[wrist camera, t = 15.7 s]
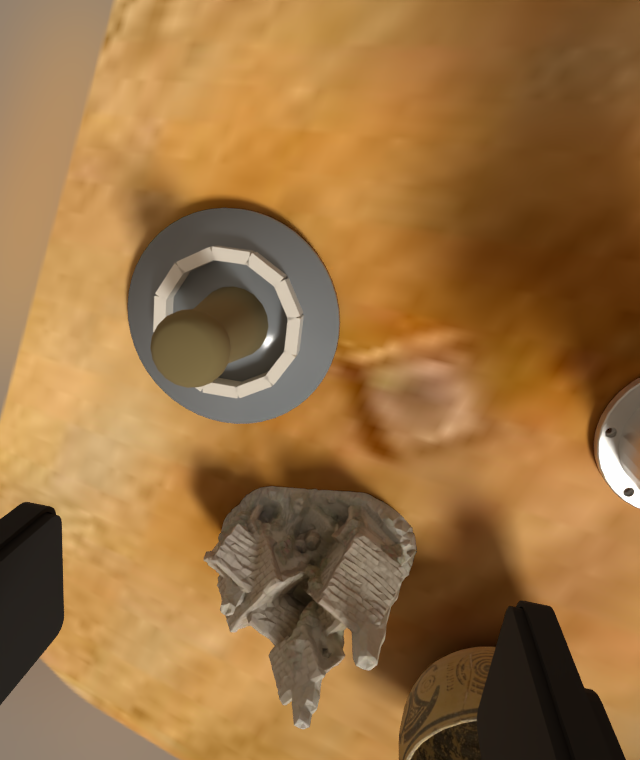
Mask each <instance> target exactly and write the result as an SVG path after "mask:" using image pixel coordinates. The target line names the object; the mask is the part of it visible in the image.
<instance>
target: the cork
mask: <svg viewBox="0 0 640 760" xmlns="http://www.w3.org/2000/svg"><path fill="white" fill-rule="evenodd" d="M267 331H268V318H267V314H266V311H265V309H264V307H263V305H262V303H261V302H260V301H259V300H258V299H257V298H256V296H255V295H253V294H251V293H250V292H248V291H247V290H245V289H242V288H238V287H234V286H232V287H222V288H219V289H217V290H215V291H213V292H211V293H210V294H209V295H208V296H207V297H206V298H205V299H204V300H203V301H202V302H200V303H199V304H198V305H197V306H196V307H195V308H194V309H188V310H180V311H177V312H175V313H173V314H170V315H168V316H166V317H165V318H164V319H163V320H162V321H161V322H160V323H159V324H158V326H157V327H156V329H155V331H154V333H153V335H152V339H151V347H150V349H151V354H152V359H153V361H154V363H155V365H156V367H157V369H158V371H159V372H160V373H161V374H162V375H163V376H164V377H165V378H166V379H167V380H169V381H170V382H172V383H174V384H175V385H178V386H182V387H186V388H192V387H202V386H204V385H207V384H210V383H212V382H213V381H214V380H215V379H217V378H218V377H219V376H220V375H221V374H222V373H223V372H224V370H225V368H226V367H227V365H228V363H231V362H233V361H236V360H238V359H241V358H244V357H246V356H249V355H251V354H253V353H254V352H256V351H257V350H258V349H259V348H260V347H261V346H262V344H263V342H264V341H265V339H266V336H267Z"/></svg>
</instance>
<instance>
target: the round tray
mask: <svg viewBox="0 0 640 760" xmlns="http://www.w3.org/2000/svg"><path fill="white" fill-rule="evenodd" d="M232 286H234V287H238V288H242V289H245V290H247V291H248V292H250V293H251V294H253V295H255V296H256V298H257V299H258V300H259V301H260V302H261V303H262V305H263V307H264V309H265V311H266V314H267V318H268V331H267V336H266V339H265V341H264V342H263V344H262V346H261V347H260V348H259V349H258V350H257V351H256V352H254V353H253V354H251V355H249V356H246V357H244V358H241V359H238V360H236V361H233V362H231V363H228V365H227V367H226V368H225V370H224V372H223V373H222V374H221V375H220V376H219V377H218V378H217V379H215V380H214V381H213V382H212V383H210V384H207V385H204V386H202V387H192V388H186V387H182V386H178V385H175V384H174V383H172V382H170V381H169V380H167V379H166V378H165V377H164V376H163V375H162V374H161V373H160V372H159V371H158V369H157V367H156V365H155V363H154V361H153V359H152V354H151V349H150V347H151V339H152V335H153V333H154V331H155V329H156V327H157V326H158V324H159V323H160V322H161V321H162V320H163V319H164V318H165V317H166V316H168V315H170V314H173V313H175V312H177V311H180V310H188V309H194V308H195V307H196V306H197V305H198V304H199V303H200V302H202V301H203V300H204V299H205V298H206V297H207V296H208V295H209V294H210V293H211V292H213V291H215V290H217V289H219V288H222V287H232ZM128 321H129V326H130V332H131V336H132V339H133V343H134V346H135V349H136V351H137V353H138V356H139V358H140V360H141V362H142V363H143V365H144V367H145V369H146V370H147V372H148V373H149V375H150V376H151V377H152V379H153V380H154V381H155V383H156V384H157V385H158V386H159V387H160V388H161V389H162V390H163V391H164V392H165V393H166V394H167V395H168V396H170V397H171V398H172V399H173V400H174V401H176V402H177V403H179V404H180V405H182V406H183V407H185V408H186V409H188V410H190V411H192V412H194V413H196V414H198V415H201V416H203V417H206V418H209V419H212V420H216V421H221V422H227V423H236V424H240V423H255V422H262V421H266V420H269V419H273V418H276V417H278V416H280V415H283V414H285V413H287V412H289V411H290V410H292V409H294V408H295V407H297V406H298V405H299V404H301V403H302V402H303V401H304V400H306V399H307V398H308V397H309V396H310V395H311V394H312V393H313V392H314V391H315V389H316V388H317V387H318V386H319V384H320V383H321V381H322V380H323V378H324V377H325V375H326V373H327V371H328V369H329V367H330V365H331V363H332V360H333V358H334V355H335V352H336V349H337V344H338V339H339V331H340V311H339V304H338V299H337V294H336V291H335V287H334V284H333V281H332V279H331V277H330V275H329V273H328V270H327V268H326V266H325V265H324V263H323V262H322V260H321V259H320V257H319V256H318V254H317V253H316V252H315V250H314V249H313V248H312V247H311V246H310V245H309V243H308V242H307V241H306V240H305V239H303V238H302V237H301V236H300V235H299V234H298V233H297V232H295V231H294V230H293V229H291V228H290V227H288V226H287V225H285V224H284V223H282V222H280V221H278V220H276V219H274V218H272V217H270V216H267V215H264V214H262V213H259V212H255V211H250V210H245V209H235V208H216V209H208V210H203V211H199V212H195V213H193V214H190V215H188V216H185V217H183V218H181V219H179V220H177V221H176V222H174V223H172V224H170V225H169V226H168V227H167V228H165V229H164V230H163V231H161V232H160V233H159V234H158V235H157V236H156V237H155V238H154V239H153V240H152V242H151V243H150V244H149V245H148V247H147V248H146V250H145V251H144V252H143V254H142V256H141V258H140V260H139V262H138V263H137V265H136V268H135V271H134V274H133V276H132V279H131V284H130V289H129V296H128Z"/></svg>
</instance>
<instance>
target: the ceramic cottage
mask: <svg viewBox="0 0 640 760" xmlns="http://www.w3.org/2000/svg"><path fill="white" fill-rule="evenodd" d="M218 539H219V542H218V544H217V545H216V546H215V547H214V549H213V550H212V551H210V552H206V554H205V556H204V561H206V562H207V563H208V565H209V566H210V567H212V568H213V569H215V570H216V571H217V572H218V573H219V577H218V584H217V586H218V588H219V592H220V594H221V597H222V603H221V608H220V610H221V613H223V614H224V615H225V616H226V618H227V623H228V626H229V629H230V632H237V630H238V629H241V628H245V627H247V626H252V627H253V628H254V629H256V630H257V631H258V632H259V633H260V634H262V635H264V636H265V637H267V638H269V639H270V641H271V642H272V643H273V644H274V645H275V647H274V648H273V649H272V650H271V652H270V654H269V658H270V661H271V665H272V670H273V673H274V677H275V680H276V686H277V688H278V695H279V699H280V701H281V703H282V704H283V705H287V704H288V703H290V702H291V701H292V708H293V719H294V725H295V726H297V727H298V728H300V729H306V728H308V727H310V723H311V717H312V714H313V713H314V712H315V711H316V710H317V706H318V702H319V699H320V688H321V681H322V678H324V677H325V674H326V673H327V672H329V670H330V669H331V668H333V667H334V666H337V665H338V664H339V663H340V662H341V660H343V659H344V657H345V654H344V652H343V646H344V637H343V636H344V630H345V629H346V628H348V629H350V630H351V632H352V649H353V660H354V662H355V665H356V666H358V667H360V668H361V669H364V670H369V671H370V670H371V669H372V668H374V667H375V666H376V665H377V663H378V659H379V654H380V649H381V646H382V644H383V642H384V640H385V635H386V624H387V621H388V618H389V613H390V609H391V606H392V605H393V604H394V602H395V601H396V600H397V598H398V596H399V591H400V587H401V583H402V581H403V580H404V579H405V577H407V576H408V575H409V571H410V569H411V566H412V564H413V560H414V556H415V554H416V552H417V551H416V550H417V547H416V540H415V535H414V533H413V530H412V527H411V526H410V525H409V524H408V523H407V521H406V520H405V519H404V518H403V517H402V516H401V515H400V514H399V513H398V512H396V511H395V510H394V509H392V508H391V507H390V506H388V505H387V504H385V503H384V502H383V501H379V500H378V499H376V498H374V497H373V496H371V495H369V494H367V493H360V492H357V493H356V492H350V491H332V490H317V489H311V490H310V489H309V490H307V489H301V488H287V487H275V486H269V487H262V488H259V489H256V490H254V491H252V492H251V493H250V494H247V495H246V496H245V497H244V498H243V500H242V501H241V503H240V504H239V505H238V506H236V507H235V508H234V509H232V511H231V512H230V513H229V514H228V515H227V517H226V518H225V520H224V523H223V527H222V531H221V533H220V534H219V537H218Z"/></svg>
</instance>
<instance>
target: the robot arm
mask: <svg viewBox="0 0 640 760" xmlns="http://www.w3.org/2000/svg"><path fill="white" fill-rule="evenodd" d="M608 428H610V429H609V430H608V431H606V430H607V429H608ZM594 455H595V460H596V463H597V466H598V470H599V471H600V473H601V475H602V477H603V478H604V480H605V482H606V483H607V484H608V485H609V486H610V488H611V489H612V490H613V491H614V492H615V493H616V494H617V495H618V496H619V497H620V498H621V499H622V500H624V501H626V502H627V503H629V504H631V505H632V506H634V507H636V508H639V509H640V378H638V379H636V380H634V381H633V382H631V383H630V384H629V385H627V386H626V387H625V388H624V389H622V390H621V391H620V392H619V393H618V394H617V395H616V396H615V397H614V398H613V399H612V400H611V402H610V403H609V404H608V405H607V407H606V409H605V410H604V412H603V414H602V415H601V417H600V420H599V422H598V425H597V428H596V431H595V438H594ZM625 488H626V489H625ZM63 620H64V599H63V559H62V522H61V518H60V516H58V515H56V512H55V510H54V508H52V507H50V506H45V505H40V504H35V503H30V502H24V503H22V504H20V505H19V506H17V507H16V508H15V509H13V510H12V511H11V512H9V513H8V514H7V515H5V516H4V517H3V518H1V519H0V705H1V704H2V702H3V701H4V700H5V699H6V697H7V696H8V695H9V694H10V693H11V691H12V690H13V689H14V688H15V686H16V685H17V684H18V683H19V682H20V680H21V679H22V678H23V676H24V675H25V674H26V673H27V672H28V671H29V669H30V668H31V667H32V666H33V665H34V663H35V662H36V661H37V660H38V658H39V657H40V656H41V655H42V654H43V652H44V651H45V650H46V649H47V647H48V646H49V645H50V644H51V643H52V641H53V640H54V639H55V638H56V636H57V635H58V633H59V631H60V630H61V627H62V624H63ZM477 733H478V739H479V746H480V752H481V759H482V760H626V759H625V757H624V754H623V752H622V749H621V747H620V745H619V742H618V740H617V737H616V735H615V733H614V730H613V728H612V726H611V723H610V721H609V718H608V716H607V714H606V711H605V709H604V706H603V704H602V702H601V700H600V698H599V696H598V695H597V694H596V693H595V692H594V691H593V690H591V689H586V688H584V686H583V684H582V681H581V679H580V676H579V673H578V671H577V668H576V666H575V663H574V661H573V658H572V656H571V653H570V651H569V648H568V646H567V643H566V641H565V638H564V635H563V633H562V630H561V628H560V625H559V623H558V620H557V618H556V615H555V613H554V611H553V609H552V607H550V606H547V605H542V604H537V603H532V602H527V601H519V603H518V604H517V606H516V607H512V606H509V607H508V608H507V610H506V613H505V617H504V620H503V624H502V627H501V631H500V634H499V638H498V641H497V645H496V648H495V652H494V655H493V658H492V662H491V665H490V669H489V672H488V676H487V679H486V683H485V686H484V690H483V693H482V697H481V700H480V704H479V707H478V712H477Z"/></svg>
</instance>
